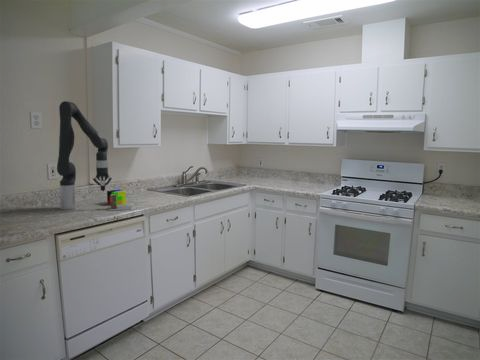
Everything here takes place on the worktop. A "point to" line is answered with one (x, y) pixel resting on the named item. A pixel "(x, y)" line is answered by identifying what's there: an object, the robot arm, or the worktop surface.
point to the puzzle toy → (120, 196)
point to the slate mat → (120, 208)
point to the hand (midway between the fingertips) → (103, 190)
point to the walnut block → (113, 201)
